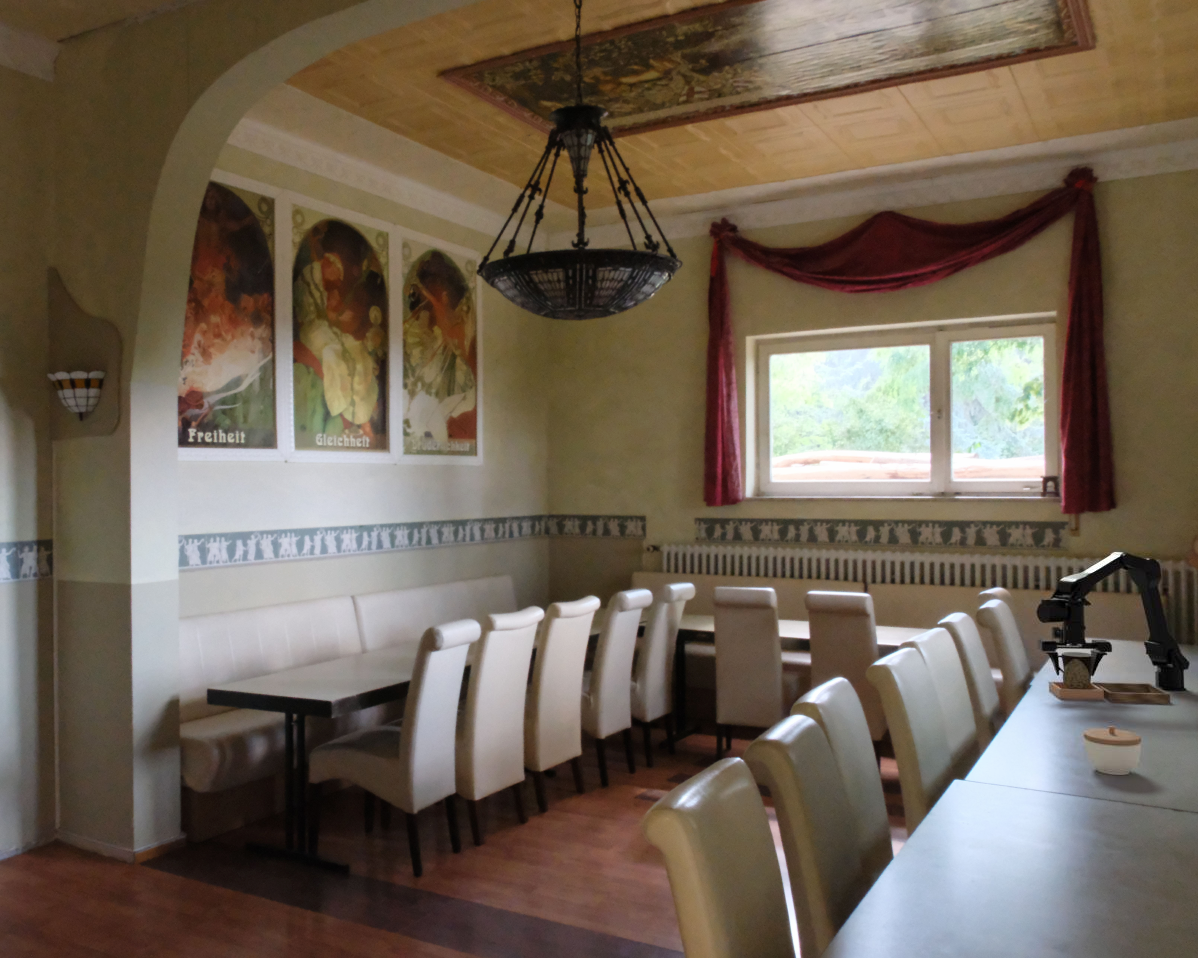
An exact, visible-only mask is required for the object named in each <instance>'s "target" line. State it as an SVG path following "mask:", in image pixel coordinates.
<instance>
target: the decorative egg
mask: <svg viewBox="0 0 1198 958" xmlns="http://www.w3.org/2000/svg"><path fill="white" fill-rule="evenodd" d="M1063 671H1064V672H1063V673H1062V682H1063V683H1064V685H1065V687H1066V688H1067V689H1088V687H1089V684H1090V683H1091V682H1090V675H1089V672H1088V670H1087V668H1086V667H1085V665H1084V664H1083V663H1082V662H1081V661H1080V660H1078V659H1073V660H1072V661H1070V662H1069V663H1068V664H1067V666H1066V667H1065V669H1064V668H1063Z"/></svg>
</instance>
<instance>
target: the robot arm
mask: <svg viewBox="0 0 1198 958" xmlns="http://www.w3.org/2000/svg"><path fill="white" fill-rule="evenodd" d="M1121 569H1122V570H1123V571H1124V570H1125V571H1127V572H1128V574H1129V577H1130V579H1131V581H1132V582H1133V584H1135V585H1136V587H1137V588H1138V590H1139V593H1140V594H1139V595H1140V596H1141V601H1142V606H1143V610H1144V615H1145V619H1146V622H1147V627H1148V631H1149V637H1148V639H1147V640H1145V641H1144V642H1143V645H1144V647H1145V655H1147V657H1148V658H1149V659H1150V661H1151V664H1152V666H1153V667H1156V671H1155V672H1154V675H1155V678H1154V679H1155V685H1154V686H1156V687H1157V688H1159V689H1161V690H1163V691H1187V688H1186V687H1185V671H1186V670H1189V667H1190V663H1191V662H1190V661H1189V660H1188V659H1187V658H1186V657H1185V656H1184V654H1182V651H1181V649H1180V647H1179V644H1178V642H1177V641H1176V639H1175V638H1174V637H1173V636H1172V635H1171V632H1169V627H1168V622H1167V620H1166V619H1167V618H1166V614H1165V610H1164V607H1163V606H1164V605H1163V603H1162V602H1163V601H1162V597H1161V594H1160V589H1159V584H1160V582H1161V579H1162V569H1161V565H1160V562H1159V561H1158V560H1157V559H1155V558H1147V557H1146V558H1145V557H1142V556H1141V557H1140V556H1137V555H1134V554H1130V553H1128V552H1124V551H1123V552H1122V551H1121V552H1120V551H1113V552H1112V553H1110V555H1109V556H1107V557H1106V558H1103V559H1102V560H1101V561H1099V562H1097V563H1095V564H1094V565H1092V566H1090V567H1089V568H1088V569H1086V570H1084V571H1082V572H1079V573H1075V574H1070V575H1068V576H1064V577H1063V578H1061V579H1060V580H1059V581H1058V585H1057V587H1056V589H1055V590H1054V592H1053V593H1052V595H1051V597H1050V599H1048V598H1041V599H1040V600H1041V603H1039V605H1038V606H1037V609H1036V617H1037V618H1038V620H1039V622H1041V623H1043V624H1046V623H1047V624H1049V623H1062V625H1061V627H1058V626H1056V627H1055V626H1052V627H1051V638H1043V639H1042V638H1039V640H1037V649H1038V650H1040V651H1042V652H1043V653H1044V654H1046V655H1047V656H1048V657H1049V659H1050V661H1051V663H1052V665H1053V668H1054V671H1055V674H1056V676H1060V670H1059V667H1060V661H1059V660H1060V659H1059V658H1060V657H1059V658H1058V656H1059V653H1058V651H1057V649H1060V650H1061V649H1067V650H1069V649H1072V650H1073V649H1075V650H1077V649H1078V650H1079V649H1080V650H1090V654H1091V677H1094V675H1095V673H1096V670H1097V669H1098V666H1099V664H1100V663H1101V661H1102V659H1103V657H1104V656H1108V653H1112V652H1113V646H1112V643H1111V642H1110V641H1108V640H1106V639H1091V642H1087V641H1086V627H1087V626H1086V624H1085V623H1086V622H1085V620H1086V619H1085V617H1086V616H1085V606H1088V607H1089V606H1091V605H1092V602H1090V601H1089V600H1088V599H1086V597H1087V596H1088V595H1089V594H1090V593H1091V592H1092V591H1093V588H1094V587H1095V585H1097V584H1098V583H1100V582H1101V581H1104V580H1105V579H1107V578H1108V577H1110V576H1111V575H1113V574H1114V573H1116V572H1118V571H1120V570H1121ZM1056 639H1057V640H1058V641H1056Z"/></svg>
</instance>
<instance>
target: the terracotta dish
mask: <svg viewBox="0 0 1198 958" xmlns="http://www.w3.org/2000/svg"><path fill="white" fill-rule="evenodd" d="M1048 692H1049V693H1051V694H1052V695H1053V696H1055V697H1056V698H1057V699H1059V700H1075V701H1076V700H1077V701H1078V700H1079V701H1080V700H1081V701H1104V700H1105V699H1104V690H1102V689H1101V688H1099V687H1097V686H1096V685H1094V684H1093V683H1092V682H1090V684H1089V687H1088V689H1067V688H1066V687H1065V685H1064V683H1063V681H1048Z"/></svg>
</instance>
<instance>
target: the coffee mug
mask: <svg viewBox="0 0 1198 958" xmlns="http://www.w3.org/2000/svg"><path fill="white" fill-rule="evenodd" d="M1058 658H1061V660H1062V667H1060V666H1059V672H1061V673H1062V674H1063V672H1064V669H1065V667H1066V666H1067V664H1068V663H1069V662H1070V661H1072V660H1073V659H1078V660H1080V661H1081V662H1082V663H1083V664H1084V665H1085V667H1086V668H1087V670H1088V672H1089V675H1090V683H1092V682H1091V680H1092V676H1091V653H1088V652H1083V651H1081V652H1079V651H1064V652H1061V654H1060V655H1059V654H1058ZM1062 668H1063V669H1062Z"/></svg>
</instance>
